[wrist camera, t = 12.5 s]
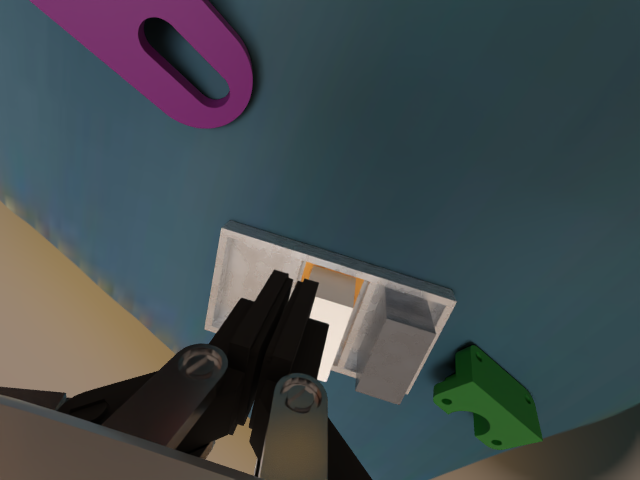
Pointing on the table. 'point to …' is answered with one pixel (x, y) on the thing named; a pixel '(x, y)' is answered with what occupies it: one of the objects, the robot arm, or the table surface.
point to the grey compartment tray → (367, 315)
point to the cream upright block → (332, 311)
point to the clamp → (489, 401)
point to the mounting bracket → (148, 65)
